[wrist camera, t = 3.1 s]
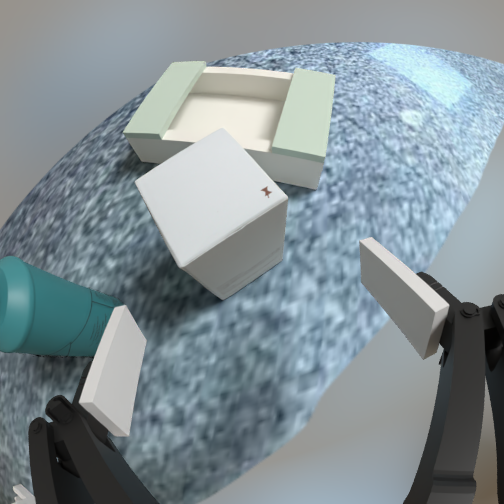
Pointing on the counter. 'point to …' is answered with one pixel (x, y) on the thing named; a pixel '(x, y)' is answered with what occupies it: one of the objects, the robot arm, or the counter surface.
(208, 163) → the supplement box
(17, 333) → the beverage bottle
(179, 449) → the counter surface
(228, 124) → the cream green tray
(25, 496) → the cable organizer
